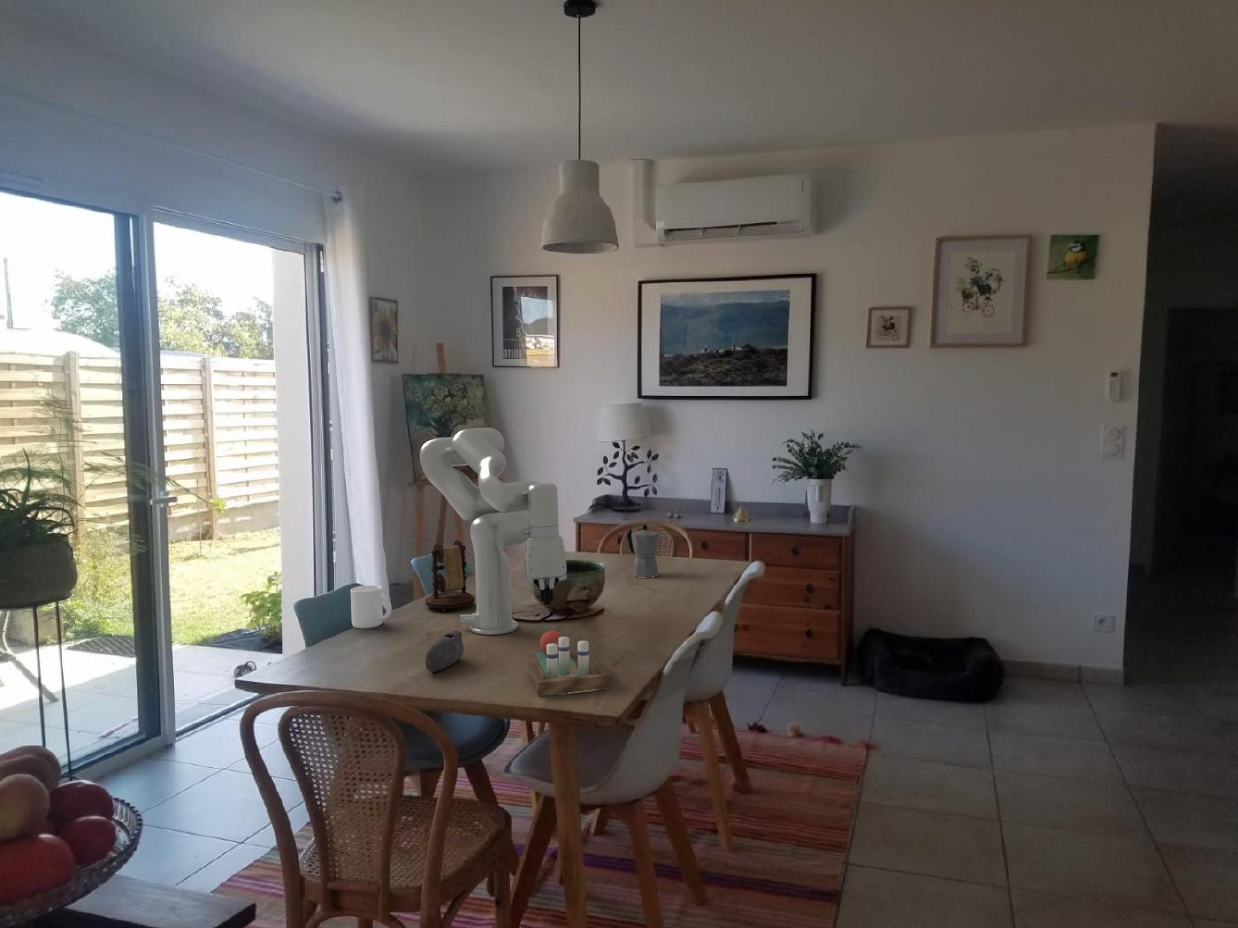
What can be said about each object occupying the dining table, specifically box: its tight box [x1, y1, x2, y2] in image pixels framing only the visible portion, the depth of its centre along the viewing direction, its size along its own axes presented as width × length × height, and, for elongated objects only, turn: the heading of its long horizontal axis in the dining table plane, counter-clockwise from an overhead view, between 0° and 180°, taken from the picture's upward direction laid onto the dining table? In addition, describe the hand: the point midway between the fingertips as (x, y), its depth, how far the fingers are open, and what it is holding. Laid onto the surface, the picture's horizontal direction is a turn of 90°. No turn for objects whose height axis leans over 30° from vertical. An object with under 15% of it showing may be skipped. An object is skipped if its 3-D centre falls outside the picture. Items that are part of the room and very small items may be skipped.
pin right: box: [577, 640, 590, 676], centre depth 185 cm, size 2×2×8 cm
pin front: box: [559, 636, 570, 676], centre depth 188 cm, size 2×2×8 cm
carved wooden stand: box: [424, 539, 476, 614], centre depth 250 cm, size 15×15×20 cm
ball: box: [539, 630, 564, 654], centre depth 202 cm, size 6×6×6 cm
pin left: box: [546, 644, 558, 679], centre depth 183 cm, size 2×2×8 cm
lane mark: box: [534, 651, 578, 696], centre depth 191 cm, size 30×8×1 cm, turn 15°
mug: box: [350, 584, 392, 629], centre depth 231 cm, size 12×8×10 cm
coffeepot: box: [626, 524, 661, 577], centre depth 290 cm, size 15×9×18 cm, turn 44°
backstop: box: [527, 655, 613, 697], centre depth 184 cm, size 16×14×3 cm
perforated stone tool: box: [424, 630, 465, 673], centre depth 195 cm, size 15×5×7 cm, turn 161°
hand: (546, 603), depth 210 cm, fingers closed
